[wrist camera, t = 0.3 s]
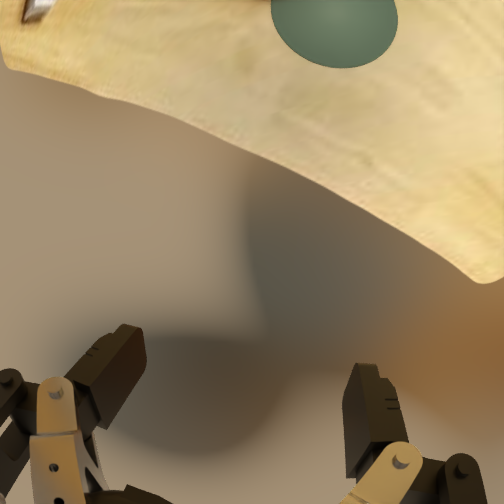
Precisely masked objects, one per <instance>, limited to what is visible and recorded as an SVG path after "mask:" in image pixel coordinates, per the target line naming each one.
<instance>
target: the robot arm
mask: <svg viewBox="0 0 504 504" xmlns="http://www.w3.org/2000/svg"><path fill="white" fill-rule="evenodd" d="M146 363H147V357H146V351H145V344H144V336H143V331H142V329H141V328H139V327H135V326H131V325H127V324H122V325H121V326H119V328H118V329H117V330H116V331H115V332H114V333H113V334H112V333H108V334H107V335H104V336H103V337H101V338H99V339H98V340H97V341H96V342H95V343H94V344H93V345H92V347H91V348H89V350H88V351H87V352H86V354H85V355H83V356H82V357H81V358H80V359H79V361H78V362H77V363H76V364H75V365H74V366H73V367H72V368H71V369H70V370H69V372H68V373H67V374H66V375H65V376H64V377H51V378H49V379H46V380H45V381H43V382H42V383H41V384H36V383H31V382H25V381H24V380H23V378H22V376H21V373H20V372H19V371H17V370H16V369H11V368H9V369H4V370H2V371H0V427H1V426H2V424H3V423H4V422H5V420H6V419H7V417H8V416H10V417H11V419H12V422H11V423H10V425H9V426H8V427H7V428H6V430H5V431H4V432H3V434H2V435H1V437H0V504H6V501H5V498H6V496H7V494H8V492H9V491H10V489H11V488H12V486H13V484H14V483H15V481H16V479H17V478H18V476H19V474H20V473H21V471H22V470H23V468H24V466H25V465H26V463H27V462H28V460H29V458H30V463H31V464H30V466H31V478H32V487H33V496H34V504H172V503H171V502H169V501H167V500H165V499H163V498H162V497H160V496H158V495H155V494H152V493H149V492H146V491H144V490H141V489H138V488H135V487H133V486H130V485H128V484H127V485H126V488H125V489H124V491H119V490H109V487H108V485H107V482H106V480H105V478H104V475H103V472H102V469H101V464H100V460H99V456H98V451H97V446H96V441H95V436H94V433H93V430H94V428H95V427H96V426H99V427H101V428H103V429H106V430H107V429H108V427H109V426H110V424H111V422H112V421H113V419H114V418H115V416H116V415H117V413H118V411H119V410H120V408H121V407H122V405H123V404H124V402H125V401H126V399H127V397H128V396H129V394H130V393H131V391H132V389H133V388H134V386H135V385H136V383H137V382H138V381H139V379H140V377H141V376H142V374H143V373H144V371H145V368H146ZM342 410H343V425H344V440H345V458H346V478H356V486H355V487H354V488H353V489H352V491H351V492H350V493H349V494H348V495H347V496H346V497H345V498H344V499H343V500H342V501H341V502H340V503H339V504H487V499H486V495H485V489H484V485H483V481H482V477H481V473H480V469H479V466H478V464H477V462H476V460H475V459H474V458H473V457H471V456H469V455H468V454H463V453H458V454H455V455H453V456H451V457H450V458H449V459H448V460H447V461H446V462H444V461H439V460H433V459H428V458H425V457H422V455H421V453H420V451H419V450H418V449H417V448H416V447H415V446H414V445H412V444H410V443H409V440H408V436H407V432H406V428H405V424H404V420H403V416H402V412H401V410H400V404H399V401H398V397H397V393H396V390H395V387H394V386H393V385H392V384H391V382H390V381H389V380H388V379H387V378H380V376H379V372H378V368H377V366H376V364H367V363H355V365H354V367H353V370H352V373H351V375H350V378H349V381H348V384H347V386H346V389H345V391H344V396H343V401H342Z"/></svg>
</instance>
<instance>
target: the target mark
mask: <svg viewBox="0 0 504 504" xmlns="http://www.w3.org/2000/svg"><path fill="white" fill-rule="evenodd" d="M271 13H272V19H273V22H274V25H275V27H276V29H277V31H278V33H279V35H280V36H281V38H282V39H283V40H284V41H285V43H286V44H287V45H288V46H289V47H290V48H291V49H292V50H294V51H295V52H296V53H298V54H299V55H300V56H302V57H304V58H305V59H307V60H309V61H312V62H314V63H316V64H320V65H323V66H327V67H333V68H352V67H358V66H361V65H365V64H367V63H370V62H372V61H373V60H375V59H377V58H378V57H379V56H381V55H382V54H383V53H384V52H385V51H386V50H387V49H388V47H389V46H390V45H391V43H392V41H393V39H394V37H395V34H396V31H397V25H398V16H397V10H396V6H395V3H394V0H272V1H271Z"/></svg>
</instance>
